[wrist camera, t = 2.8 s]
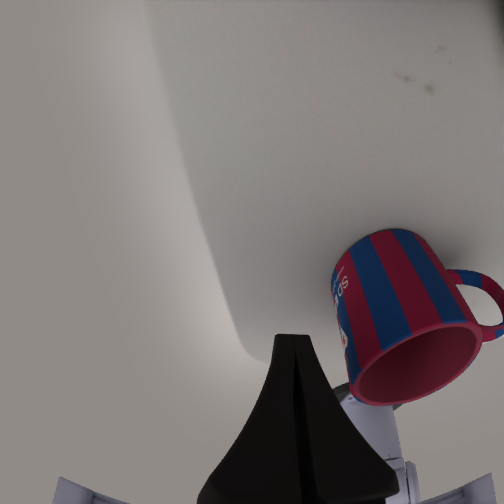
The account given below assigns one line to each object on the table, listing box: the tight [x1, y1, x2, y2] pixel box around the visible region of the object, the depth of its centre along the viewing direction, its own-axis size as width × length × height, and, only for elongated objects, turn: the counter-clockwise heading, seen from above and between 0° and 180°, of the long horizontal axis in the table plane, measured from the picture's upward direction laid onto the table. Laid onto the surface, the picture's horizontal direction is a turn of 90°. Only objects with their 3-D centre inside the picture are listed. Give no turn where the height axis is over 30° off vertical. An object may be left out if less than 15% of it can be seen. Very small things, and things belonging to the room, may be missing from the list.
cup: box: [331, 229, 504, 406], centre depth 13 cm, size 7×10×7 cm
